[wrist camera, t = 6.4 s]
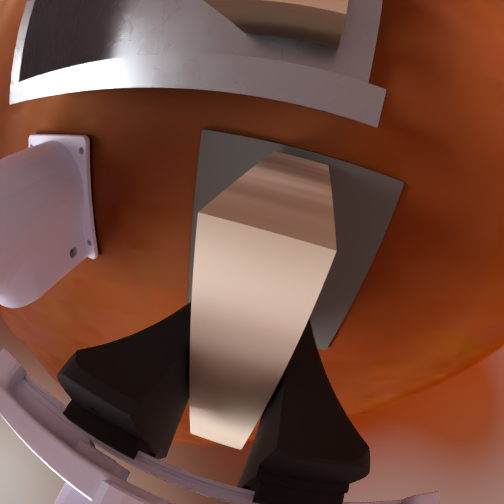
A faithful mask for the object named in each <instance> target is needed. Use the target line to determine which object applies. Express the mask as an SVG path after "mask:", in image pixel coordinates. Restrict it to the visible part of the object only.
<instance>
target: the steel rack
mask: <svg viewBox="0 0 504 504" xmlns="http://www.w3.org/2000/svg"><path fill="white" fill-rule="evenodd" d="M382 2H383V0H349V1H348V7H347V13H346V18H345V22H344V26H343V31H342V35H341V39H340V44H339V48H338V49H337V48H333V47H329V46H325V45H321V44H316V43H312V42H307V41H301V40H296V39H290V38H284V37H277V36H269V35H260V34H250V33H244V32H243V31H242V30H241V29H239V28H238V27H237V26H236V25H235V24H233V23H232V22H231V21H230V20H228V19H227V18H226V17H225V16H223V15H222V14H221V13H219V12H218V11H217V10H216V9H214V8H213V7H211V6H210V5H209V4H207V3H206V2H205V1H203V0H27V3H26V6H25V10H24V13H23V17H22V21H21V25H20V29H19V33H18V38H17V43H16V48H15V54H14V60H13V67H12V75H11V86H10V101H9V104H13V103H17V102H22V101H26V100H31V99H36V98H41V97H46V96H52V95H59V94H66V93H73V92H81V91H91V90H103V89H119V88H176V89H194V90H206V91H216V92H225V93H233V94H240V95H247V96H254V97H260V98H265V99H271V100H276V101H281V102H286V103H291V104H295V105H299V106H304V107H308V108H312V109H316V110H320V111H323V112H327V113H331V114H334V115H338V116H341V117H344V118H348V119H351V120H354V121H357V122H360V123H364V124H367V125H370V126H373V127H376V128H377V127H378V123H379V119H380V115H381V111H382V107H383V103H384V99H385V94H386V90H387V89H384V88H381V87H379V86H376V85H373V84H370V83H368V82H369V77H370V73H371V68H372V63H373V58H374V52H375V47H376V41H377V36H378V30H379V23H380V17H381V10H382Z"/></svg>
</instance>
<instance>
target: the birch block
mask: <svg viewBox="0 0 504 504" xmlns="http://www.w3.org/2000/svg"><path fill="white" fill-rule="evenodd" d="M336 251H337V248H336V233H335V221H334V209H333V199H332V190H331V181H330V173H329V165H325V164H322V163H318V162H315V161H311V160H308V159H304V158H300V157H296V156H292V155H288V154H284V153H280V152H276V151H273V152H272V153H271V154H269V155H268V156H267V157H265V158H264V159H263V160H261V161H260V162H259V163H258V164H256V165H255V166H254V167H252V168H251V169H250V170H249V171H247V172H246V173H245V174H244V175H242V176H241V177H240V178H239V179H237V180H236V181H235V182H234V183H232V184H231V185H230V186H229V187H228V188H226V189H225V190H224V191H223V192H221V193H220V194H219V195H218V196H217V197H215V198H214V199H213V200H212V201H211V202H210V203H208V204H207V205H206V206H205V207H204V208H202V209H201V210H200V211H199V212H198V218H197V228H196V240H195V252H194V266H193V282H192V301H191V325H190V433H192V434H194V435H197V436H200V437H203V438H205V439H208V440H211V441H214V442H217V443H220V444H224V445H227V446H230V447H233V448H237V449H242V447H243V446H244V444H245V442H246V441H247V439H248V437H249V436H250V434H251V432H252V430H253V429H254V427H255V425H256V423H257V422H258V420H259V418H260V416H261V414H262V413H263V411H264V409H265V407H266V405H267V403H268V402H269V400H270V398H271V396H272V394H273V392H274V390H275V388H276V386H277V384H278V382H279V380H280V379H281V377H282V375H283V373H284V371H285V369H286V367H287V365H288V362H289V360H290V358H291V356H292V354H293V352H294V350H295V348H296V346H297V344H298V342H299V339H300V337H301V335H302V333H303V331H304V328H305V326H306V324H307V322H308V320H309V317H310V315H311V313H312V310H313V308H314V306H315V303H316V301H317V299H318V296H319V294H320V292H321V289H322V287H323V284H324V282H325V279H326V277H327V274H328V272H329V269H330V267H331V264H332V262H333V259H334V257H335V254H336Z"/></svg>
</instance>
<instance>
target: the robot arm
mask: <svg viewBox="0 0 504 504" xmlns="http://www.w3.org/2000/svg"><path fill="white" fill-rule="evenodd" d="M83 149H84V152H83ZM86 257H89V258H91V259H95V258H97V257H98V249H97V242H96V234H95V226H94V218H93V207H92V195H91V178H90V140H89V138H88V137H87V136H86V135H70V134H33V135H30V137H29V148H27V149H24V150H21V151H19V152H16V153H14V154H11V155H9V156H6V157H4V158H1V159H0V304H1V305H3V306H5V307H8V308H18V307H22V306H25V305H28V304H30V303H32V302H34V301H35V300H37V299H38V298H40V297H41V296H42V295H43V294H44V293H45V292H47V291H48V290H49V289H50V288H51V287H52V286H53V285H54V284H55V283H57V282H58V281H59V280H60V279H61V278H62V277H63V276H65V275H66V274H67V273H68V272H69V271H70V270H72V269H73V268H74V267H75V266H76V265H78V264H79V263H80V262H81V261H82V260H84V259H85V258H86ZM190 325H191V302H190V303H188V304H187V305H186V306H184V307H183V308H181V309H180V310H178V311H177V312H175V313H173V314H172V315H170V316H169V317H167V318H165V319H164V320H162V321H160V322H158V323H156V324H154V325H152V326H150V327H148V328H146V329H144V330H142V331H140V332H137V333H135V334H133V335H130V336H128V337H125V338H122V339H119V340H116V341H113V342H110V343H107V344H103V345H99V346H95V347H91V348H86V349H81V350H77V351H76V352H75V353H74V354H73V355H72V356H71V358H70V359H69V360H68V361H67V363H66V364H65V365H64V367H63V368H62V369H61V370H60V372H59V373H58V374H57V378H58V381H59V382H60V384H61V386H62V387H63V388H64V390H65V391H66V392H67V394H68V395H69V396H70V398H71V399H72V400H71V402H70V403H69V404H68V406H66V405H64V404H63V403H62V402H60V401H59V400H58V399H56V398H55V397H54V396H52V395H51V394H50V393H49V392H48V391H46V390H45V389H44V388H43V387H42V386H41V385H39V384H38V383H37V382H36V381H35V380H34V379H32V378H31V377H30V376H29V375H28V374H27V373H26V371H25V370H24V368H23V367H22V365H21V364H20V363H19V362H18V361H17V360H16V359H15V358H14V357H13V356H12V355H11V354H10V353H9V352H8V351H7V350H6V349H5V348H3V349H2V350H1V352H0V415H1V416H2V418H3V419H4V420H5V421H6V422H7V424H8V425H9V426H10V427H11V428H12V430H13V431H14V432H15V433H16V434H17V435H18V436H19V438H20V439H21V440H22V441H23V442H24V443H25V444H26V445H27V446H28V447H29V448H30V449H31V450H32V451H33V452H34V453H35V454H36V455H37V456H38V457H39V458H40V459H41V460H42V461H43V462H44V463H45V464H46V465H47V466H48V467H49V468H51V469H52V470H53V471H54V472H55V473H56V474H58V476H60V477H61V478H62V479H63V480H64V481H66V482H65V484H64V486H63V488H62V490H61V491H60V493H59V495H58V497H57V498H56V501H55V502H54V504H175V503H172V502H170V501H168V500H165V499H163V498H160V497H158V496H156V495H153V494H151V493H149V492H147V491H145V490H143V489H141V488H138V487H136V486H134V485H132V484H130V483H128V482H127V477H128V476H129V474H130V472H129V471H128V470H127V469H125V468H123V467H122V466H120V465H119V464H118V463H116V461H115V460H113V459H111V458H110V457H108V456H107V455H105V454H103V453H102V452H100V451H99V450H97V449H96V448H95V445H94V444H96V445H97V446H99V447H100V448H102V449H104V450H105V451H107V452H109V453H110V454H112V455H114V456H116V457H117V458H119V459H121V460H123V461H125V462H126V463H128V464H130V465H132V466H134V467H136V468H138V469H140V470H142V471H144V472H146V473H149V474H151V475H153V476H155V477H157V478H160V479H162V480H164V481H167V482H169V483H171V484H174V485H177V486H179V487H182V488H184V489H187V490H190V491H193V492H195V493H198V494H201V495H205V496H208V497H211V498H214V499H218V500H221V501H225V502H229V503H232V504H439V492H438V491H436V492H431V493H425V494H419V495H415V496H411V497H407V498H405V499H403V500H393V501H380V502H343V498H344V493H347V492H348V489H349V484H350V483H352V482H355V481H357V480H360V479H362V478H364V477H366V476H367V475H368V474H369V472H370V451H369V446H368V445H367V444H366V442H365V441H364V440H363V438H362V437H361V436H360V435H359V433H358V432H357V430H356V429H355V428H354V426H353V425H352V423H351V421H350V420H349V418H348V417H347V415H346V413H345V411H344V410H343V408H342V406H341V404H340V402H339V401H338V399H337V397H336V395H335V393H334V391H333V389H332V387H331V384H330V382H329V380H328V377H327V375H326V372H325V370H324V367H323V364H322V362H321V359H320V356H319V352H318V349H317V346H316V342H315V338H314V335H313V330H312V326H311V321H310V317H309V320H308V322H307V324H306V326H305V328H304V331H303V333H302V335H301V337H300V339H299V342H298V344H297V346H296V348H295V350H294V352H293V354H292V356H291V358H290V360H289V362H288V365H287V367H286V369H285V371H284V373H283V375H282V377H281V379H280V380H279V382H278V384H277V386H276V388H275V390H274V392H273V394H272V396H271V398H270V400H269V402H268V403H267V405H266V407H265V409H264V411H263V414H262V417H261V420H260V424H259V427H258V430H257V433H256V436H255V439H254V442H253V445H252V448H251V451H250V454H249V456H248V459H247V462H246V465H245V467H244V470H243V473H242V475H241V478H240V481H239V483H238V486H237V487H235V486H231V485H227V484H223V483H220V482H217V481H213V480H210V479H207V478H204V477H201V476H198V475H196V474H193V473H190V472H187V471H185V470H182V469H180V468H177V467H174V466H172V465H170V464H167V463H165V462H163V461H160V460H158V459H161V458H164V457H166V456H167V453H168V451H169V448H170V445H171V442H172V440H173V437H174V434H175V432H176V429H177V427H178V424H179V422H180V419H181V416H182V414H183V412H184V409H185V407H186V404H187V402H188V399H189V397H190ZM149 455H150V456H149Z"/></svg>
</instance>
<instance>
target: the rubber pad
mask: <svg viewBox="0 0 504 504" xmlns="http://www.w3.org/2000/svg"><path fill="white" fill-rule="evenodd" d="M273 151H276V152H280V153H284V154H288V155H292V156H296V157H300V158H304V159H308V160H311V161H315V162H318V163H322V164H325V165H329V173H330V181H331V190H332V199H333V209H334V221H335V233H336V248H337V251H336V254H335V257H334V259H333V262H332V264H331V267H330V269H329V272H328V274H327V277H326V279H325V282H324V284H323V287H322V289H321V292H320V294H319V296H318V299H317V301H316V303H315V306H314V308H313V310H312V313H311V315H310V321H311V326H312V330H313V335H314V338H315V342H316V346H317V348H318V349H322V350H326V349H327V348H328V346H329V344H330V343H331V341H332V339H333V337H334V336H335V334H336V332H337V331H338V329H339V327H340V325H341V323H342V322H343V320H344V318H345V316H346V314H347V312H348V310H349V309H350V307H351V305H352V303H353V301H354V299H355V297H356V295H357V293H358V291H359V289H360V287H361V285H362V283H363V281H364V279H365V277H366V275H367V273H368V271H369V269H370V266H371V264H372V262H373V260H374V258H375V256H376V253H377V251H378V249H379V247H380V244H381V242H382V240H383V237H384V235H385V232H386V230H387V228H388V225H389V223H390V220H391V218H392V215H393V213H394V210H395V207H396V205H397V202H398V199H399V197H400V194H401V191H402V188H403V186H404V182H403V181H401V180H398V179H395V178H393V177H390V176H388V175H385V174H382V173H379V172H377V171H374V170H371V169H368V168H365V167H362V166H359V165H356V164H353V163H350V162H347V161H344V160H340V159H337V158H334V157H330V156H327V155H323V154H320V153H316V152H313V151H309V150H305V149H301V148H298V147H294V146H290V145H286V144H281V143H277V142H273V141H268V140H264V139H259V138H254V137H249V136H244V135H239V134H233V133H228V132H222V131H216V130H209V129H202V133H201V141H200V149H199V157H198V166H197V175H196V185H195V196H194V207H193V219H192V232H191V248H190V266H189V290H188V303H190V302H191V301H192V282H193V266H194V252H195V240H196V228H197V218H198V212H199V211H200V210H201V209H202V208H204V207H205V206H206V205H207V204H208V203H210V202H211V201H212V200H213V199H214V198H215V197H217V196H218V195H219V194H220V193H221V192H223V191H224V190H225V189H226V188H228V187H229V186H230V185H231V184H232V183H234V182H235V181H236V180H237V179H239V178H240V177H241V176H242V175H244V174H245V173H246V172H247V171H249V170H250V169H251V168H252V167H254V166H255V165H256V164H258V163H259V162H260V161H261V160H263V159H264V158H265V157H267V156H268V155H269V154H271V153H272V152H273Z"/></svg>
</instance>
